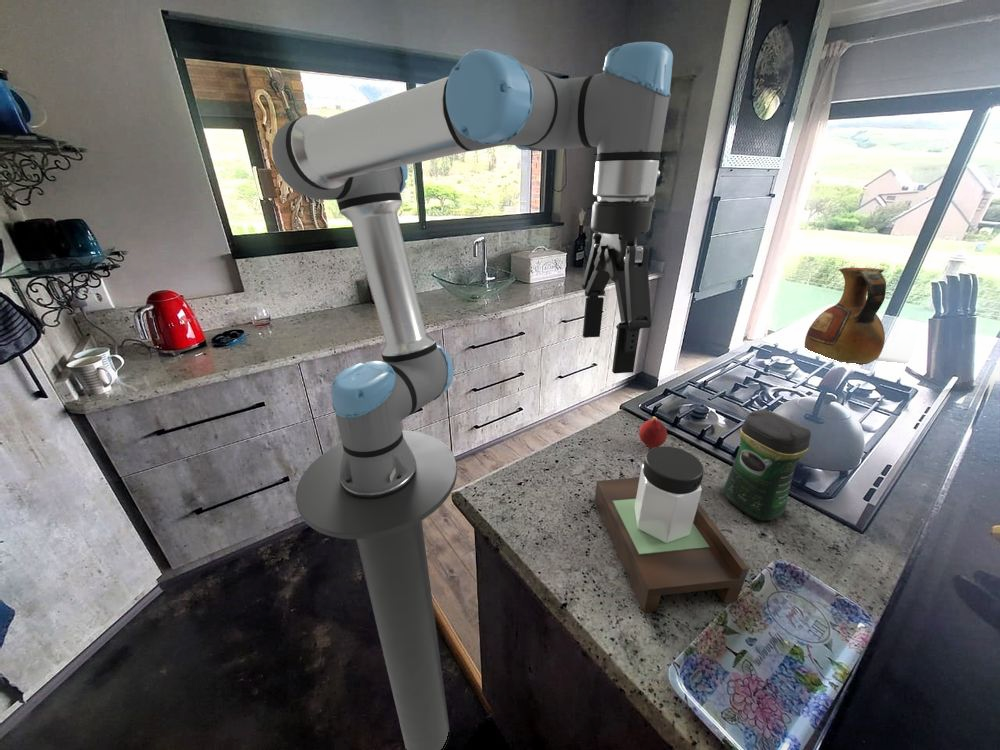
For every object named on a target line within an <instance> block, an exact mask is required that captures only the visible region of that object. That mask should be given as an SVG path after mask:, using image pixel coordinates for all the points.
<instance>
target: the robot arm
mask: <svg viewBox="0 0 1000 750" xmlns="http://www.w3.org/2000/svg"><path fill="white" fill-rule="evenodd" d="M673 63H674V55H673V51H672V50H671V48H669V46H668V45H666V44H665V43H661V42H656V41H635V42H628V43H624V44H622V45H621V46H620V45H619V46H615V47H613V48H611V49H610V50H609V51H608V52H607V54H606V55H605V59H604V65H603V66H602V72H600V73H596V74H592V75H587V76H579V77H571V78H570V77H569V78H559V77H556V76H555V75H552V74H550V73H548V72H545V71H543V70H540V69H537V68H535V67H533V66H530V65H528V64H526V63H524V62H521V61H519V60H518V59H516V58H515V57H513V56H511V55H510V54H508V53H503V52H500V51H497V50H495V51H494V50H489V49H483V48H479V49H474V50H470V51H468V52H466V53H465V54H463V55H462V56H461V57H460V58H459V60H458V62H457V63H456V64H455V66H453V68H452V69H451V71H450V73H449V76H446V77H443V78H439V79H437V80H434V81H431V82H429V83H428V82H427V83H424V84H422V85H419V86H416V87H413V88H410V89H408V90H405V91H402V92H399V93H395V94H392V95H389V96H387V97H384V98H382V99H378V100H375V101H373V102H370V103H365V104H363V105H361V106H358V107H355V108H352V109H349V110H346V111H343V112H340V113H337V114H334V115H331V116H329V117H325V116H322V115H319V114H318V115H317V114H306V115H303V116H299V117H297V118H294V119H292V120H289V121H288V122H286V123H285V124H283V125H282V126H280V128H279V129H278V130H277V131H276V132H275V135H274V138H273V141H272V147H271V150H272V151H271V153H272V161H273V163H274V166H275V168H276V171H277V172H278V174H279V176H280V177H281V179H282V180H283V181H284V183H286V185H288V186H289V187H290V188H291V189H292V190H294V191H295V192H297V193H298V194H300V195H302V196H304V197H307V198H309V199H314V200H319V201H334V200H336V204H337V207H338V211H339V213H340V215H342V216H343V217H345V218H347V220H349V221H350V223H351V225H352V229H353V232H354V236H355V240H356V243H357V246H358V251H359V254H360V257H361V261H362V264H363V267H364V272H365V275H366V278H367V282H368V285H369V289H370V292H371V296H372V300H373V302H374V307H375V310H376V313H377V316H378V320H379V324H380V327H381V331H382V335H383V337H384V345H383V347H382V348H381V350H380V355H381V359H382V361H380V360H370V361H366V362H365V363H361V362H359V363H357V364H354V365H351V366H350V367H347V368H346V369H344V370H343V371H341V372H340V373H339V374H338V375H337V376H336V377H335V378H334V380H333V381H332V384H331V389H330V392H331V403H332V404H331V405H332V409H333V411H334V414H335V418H336V424H337V427H338V432H339V436H340V441H341V443H342V445H343V456H342V462H341V468H340V481H341V485H342V488H343V489H344V491H345V492H346V493H348V494H349V495H351V496H353V497H356V498H361V499H377V498H382V497H386V496H389V495H392V494H394V493H396V492H398V491H400V490H401V489H403V488H404V487H406V486H407V485H408V484H409V483H410V482H411V481H412V479H413V478H414V476H415V474H416V469H417V468H416V460H415V457H414V455H413V453H412V451H411V449H410V448H409V446H408V444H407V442H406V441H405V439H404V437H403V432H402V430H403V425H402V422H403V420H404V419H406V418H407V417H409V416H411V415H412V414H414V413H416V412H417V411H419V410H420V409H422V408H424V407H425V406H427V405H429V403H432V402H434V401H435V400H438V398H440V397H441V396H442V394H444V393H445V392H446V391H447V390H449V388H450V387H451V385H452V383H453V381H454V365H453V364H454V363H453V361H452V359H451V357H450V355H449V353H446V349H445V348H444V347H442V346H441V345H439V344H437V341H436V338H434V336H431V335H430V334H428V333H427V331H426V326H425V322H424V318H423V313H422V309H421V306H420V302H419V298H418V297H419V296H418V293H417V289H416V285H415V282H414V277H413V274H412V269H411V266H410V262H409V256H408V252H407V249H406V245H405V241H404V240H405V239H404V237H403V233H402V228H401V224H400V221H399V218H398V212H399V210H400V208H401V206H402V205H403V200H402V195H401V193H403V191H404V190H405V188H406V185H407V183H406V181H407V180H408V177H409V176H408V175H409V172H408V165H412V164H417V163H421V162H426V161H427V162H428V161H432V160H436V159H441V158H446V157H449V156H453V155H458V154H463V153H468V152H475V151H476V152H477V151H481V150H486V149H491V148H495V147H501V146H515V147H516V149H519V150H521V151H531V152H540V153H541V152H545V151H549V150H567V149H580V148H586V149H591V148H596V149H597V151H596V152H597V154H596V158H595V159H596V160H595V167H594V178H593V189H592V195H593V196H594V197H596V200H595V201H594V202H593V203H592V207H591V219H590V220H591V221H590V229H591V231H592V232H594V233H593V234H592V241H591V248H590V251H589V254H588V255H589V256H588V259H587V264H586V267H585V271H584V275H583V279H582V283H581V289H582V291H584V296H585V303H584V317H583V327H582V337H583V338H584V339H585V338H600V337H601V328H602V319H603V312H604V311H603V310H604V301H605V298H604V297H606V291H605V289H606V287H607V285H608V283H609V281H610V280H611V281H612V282H614V287H615V292H616V293H615V295H616V299H617V300H616V301H617V306H618V311H619V312H618V313H619V317H620V322H619V323H618V324H617V325H616V326H615V328H616V337H615V345H614V352H613V361H612V368H611V372H612V374H615V375H616V374H631V373H634V370H635V363H636V357H637V351H638V343H639V337H640V331H641V329H650V328H651V326H652V313H651V312H652V311H651V310H652V309H651V295H650V278H649V277H650V276H649V260H650V259H649V258H650V246H649V245H638V236H639V235H640V234H646V233H647V232H649V231H650V229H651V222H652V217H653V216H652V215H653V211H654V204H653V202H652V201H649V198H651V197H653V196H654V195H655V194H656V185H657V180H658V178H660V175H661V171H660V170H659V167H660V159H661V151H662V146H663V139H664V135H665V126H666V121H667V116H668V109H669V103H670V100H671V97H672V94H671V84H672V73H673Z"/></svg>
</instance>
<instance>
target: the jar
mask: <svg viewBox="0 0 1000 750" xmlns="http://www.w3.org/2000/svg"><path fill="white" fill-rule="evenodd" d="M639 477H640V479H639V484H638V490H637V496H636V501H635V507H634V509H635V515H636V521H637V527H638V529H640V530H642V531H643V532H645V533H647V534H649V535H651V536H653V537H655V538H657V539H659V540H661V541H663V542H665V543H668V542H671V541H674V540H676V539H679V538H682V537H685V536H688V535H690V532H691V528H692V525H693V521H694V517H695V514H696V510H697V506H698V503H699V502H700V498H701V495H702V491H703V489H702V485H701V484H702V481H703V477H704V466H703V463H702V461H700V459H699V458H698V457H696V456H695V455H694V454H692V453H691V452H688V450H687V451H686V450H684V449H681V448H679V447H673V446H665V445H664V446H662V445H661V446H659V447H655V448H650V450H648V451H646V454H645V455H644V461H643V464H641V468H640V474H639Z"/></svg>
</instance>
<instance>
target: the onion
mask: <svg viewBox="0 0 1000 750" xmlns="http://www.w3.org/2000/svg"><path fill="white" fill-rule="evenodd" d="M638 436H639V438H640V441H641V442H642V443H643V444H644V445H645V446H646V447H647V448H649V449H653V448H656V447H662V445H664V443H666V440H667V439H668V438H667V437H668V431H667V428H666V426H665V425H664V424H663V422H661V420H659V419H658V418H657V417H656V416H652V418H650V419H648V420H645V421H644V422H643V423H642V424H641V426H640V427H639V431H638Z"/></svg>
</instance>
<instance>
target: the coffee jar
mask: <svg viewBox="0 0 1000 750" xmlns="http://www.w3.org/2000/svg"><path fill="white" fill-rule="evenodd" d="M739 434H740V435H739V436H740V441H739V447H738V450H737V454H736V457H735V459H734V462H733V464H732V466H731V469H730V471H729V473H728V476H727V478H726V480H725V482H724V485H723V489H722V493H723V496H724V497H725V498H726V500H728V501H729V502H730V503H731V504H733V505H734V506H735V507H736V508H737V509H739V510H740V511H742V512H743V513H744V514H746V515H747V516H749V517H751V518H753V519H754V520H758V521H764V522H765V521H768V522H769V521H773V520H775V519H777V518H780V517H781V516H782V515H783V514H784V512H785V510H786V507H787V505H788V504H787V503H788V499H789V494H790V490H791V486H792V482H793V481H792V480H793V477H794V475H795V470H796V467H797V464H798V462H799V460H800V459H801V458H802V457H804V455H806V454H807V452H808V450H809V447H810V442H811V437H812V436H811V435H812V433H811V430H810V429H809V428H807V427H805V426H803V425H801V424H799V423H797V422H794V421H793V420H791V419H788V418H787V417H784V416H782V415H780V414H778V413H775V412H773V411H770V410H769V409H767V408H761V409H757V410H754V411H751V412H749V413H748V414H747V416H746V417H745V418H744V421H743V423H742V425H741V427H740V431H739Z"/></svg>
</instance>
